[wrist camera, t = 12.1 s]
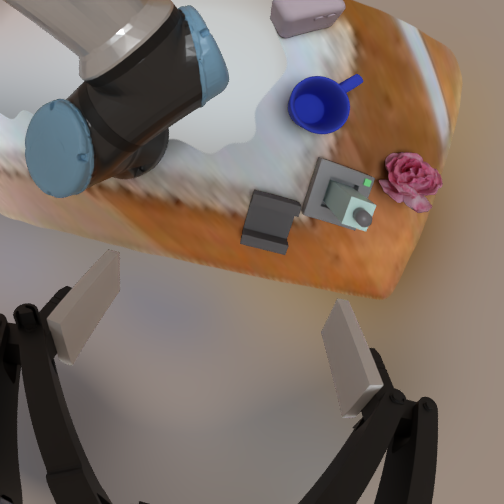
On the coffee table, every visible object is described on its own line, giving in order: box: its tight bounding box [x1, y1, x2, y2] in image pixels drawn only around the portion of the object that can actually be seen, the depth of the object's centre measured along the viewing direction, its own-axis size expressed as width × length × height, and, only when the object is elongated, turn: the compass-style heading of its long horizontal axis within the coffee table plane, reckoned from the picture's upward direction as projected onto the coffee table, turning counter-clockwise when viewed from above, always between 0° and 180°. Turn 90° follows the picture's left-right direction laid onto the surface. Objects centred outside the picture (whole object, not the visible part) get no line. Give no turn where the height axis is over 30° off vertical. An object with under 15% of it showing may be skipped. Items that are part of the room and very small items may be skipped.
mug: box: [288, 74, 363, 134], centre depth 36 cm, size 8×12×10 cm
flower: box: [379, 152, 443, 213], centre depth 42 cm, size 11×10×10 cm
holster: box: [240, 190, 301, 255], centre depth 48 cm, size 8×9×4 cm
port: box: [301, 157, 375, 230], centre depth 46 cm, size 10×10×3 cm
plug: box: [323, 180, 376, 231], centre depth 40 cm, size 4×4×14 cm
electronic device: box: [270, 0, 345, 38], centre depth 30 cm, size 10×5×10 cm, turn 114°
